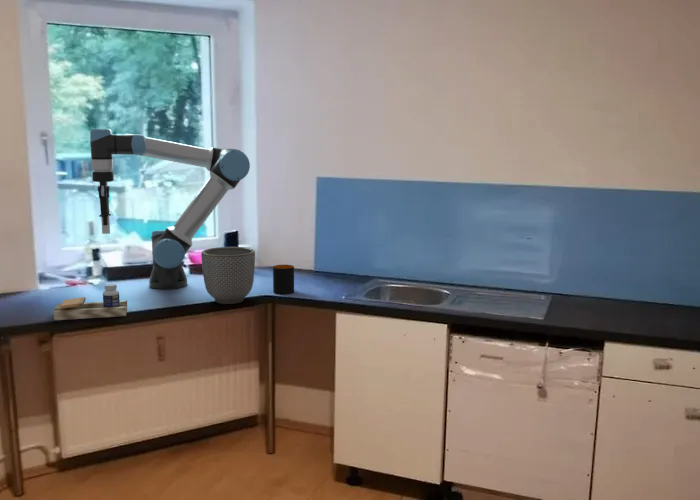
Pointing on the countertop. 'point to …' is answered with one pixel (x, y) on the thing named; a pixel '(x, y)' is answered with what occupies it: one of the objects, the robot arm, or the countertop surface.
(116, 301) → the pill bottle
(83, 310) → the wooden tray
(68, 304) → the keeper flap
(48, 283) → the countertop surface
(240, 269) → the planter
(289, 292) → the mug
